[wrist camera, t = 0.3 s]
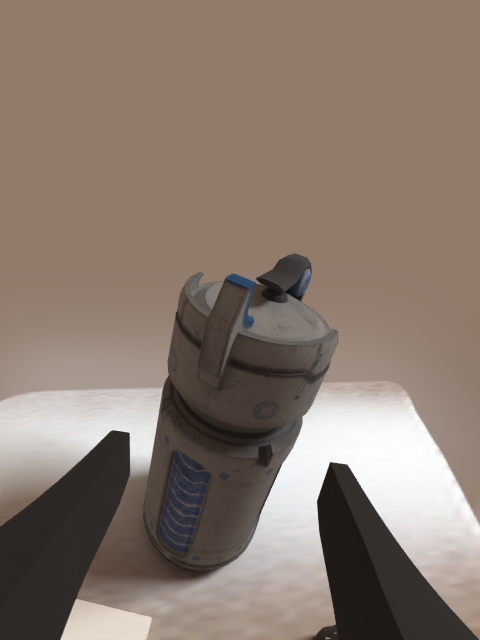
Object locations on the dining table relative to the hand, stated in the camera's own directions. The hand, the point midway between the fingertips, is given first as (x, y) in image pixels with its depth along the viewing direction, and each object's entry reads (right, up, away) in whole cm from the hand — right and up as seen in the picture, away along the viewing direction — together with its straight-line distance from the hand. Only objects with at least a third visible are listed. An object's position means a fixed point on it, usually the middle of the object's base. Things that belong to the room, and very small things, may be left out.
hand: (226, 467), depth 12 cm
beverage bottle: (-3, -13, +20) cm, 24 cm away
